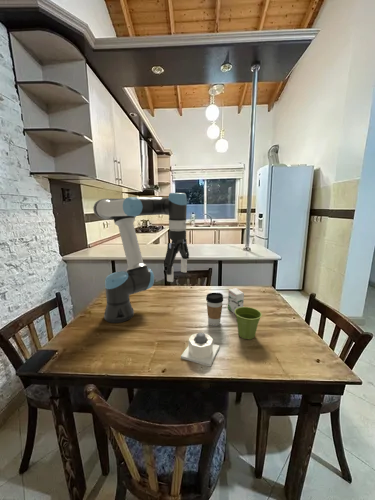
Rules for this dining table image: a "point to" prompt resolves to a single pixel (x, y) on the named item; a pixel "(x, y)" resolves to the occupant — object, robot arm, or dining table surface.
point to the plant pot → (247, 321)
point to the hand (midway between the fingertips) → (177, 276)
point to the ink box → (235, 299)
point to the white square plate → (205, 361)
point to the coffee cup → (214, 308)
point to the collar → (200, 347)
